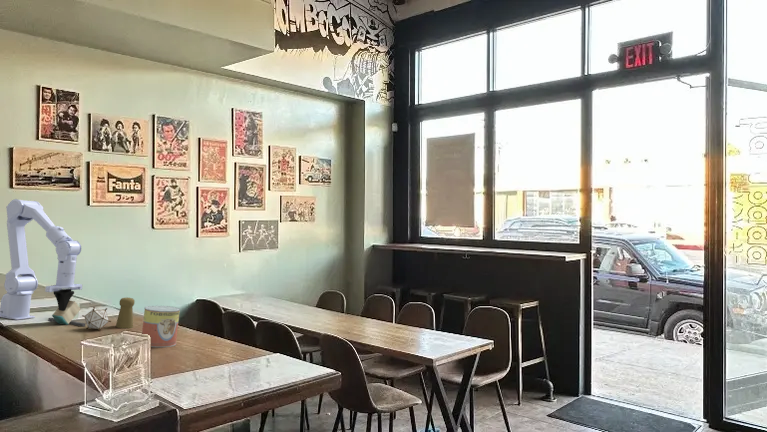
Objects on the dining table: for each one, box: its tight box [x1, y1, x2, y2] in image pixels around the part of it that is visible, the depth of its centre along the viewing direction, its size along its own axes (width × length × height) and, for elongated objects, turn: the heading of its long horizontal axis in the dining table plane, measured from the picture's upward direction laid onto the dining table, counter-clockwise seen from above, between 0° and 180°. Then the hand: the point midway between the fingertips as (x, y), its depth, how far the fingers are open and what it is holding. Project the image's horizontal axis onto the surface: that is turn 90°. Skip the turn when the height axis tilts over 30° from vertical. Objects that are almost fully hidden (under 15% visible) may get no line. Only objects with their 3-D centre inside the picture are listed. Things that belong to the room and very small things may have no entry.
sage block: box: [71, 302, 81, 321], centre depth 218 cm, size 4×4×6 cm
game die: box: [81, 306, 112, 332], centre depth 202 cm, size 9×8×10 cm
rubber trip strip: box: [47, 317, 86, 327], centre depth 208 cm, size 16×1×1 cm, turn 74°
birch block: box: [51, 299, 82, 326], centre depth 208 cm, size 4×4×8 cm
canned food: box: [141, 305, 181, 348], centre depth 190 cm, size 11×11×12 cm
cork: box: [115, 297, 136, 329], centre depth 212 cm, size 6×6×11 cm
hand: (62, 310), depth 205 cm, fingers closed, pressing on birch block
